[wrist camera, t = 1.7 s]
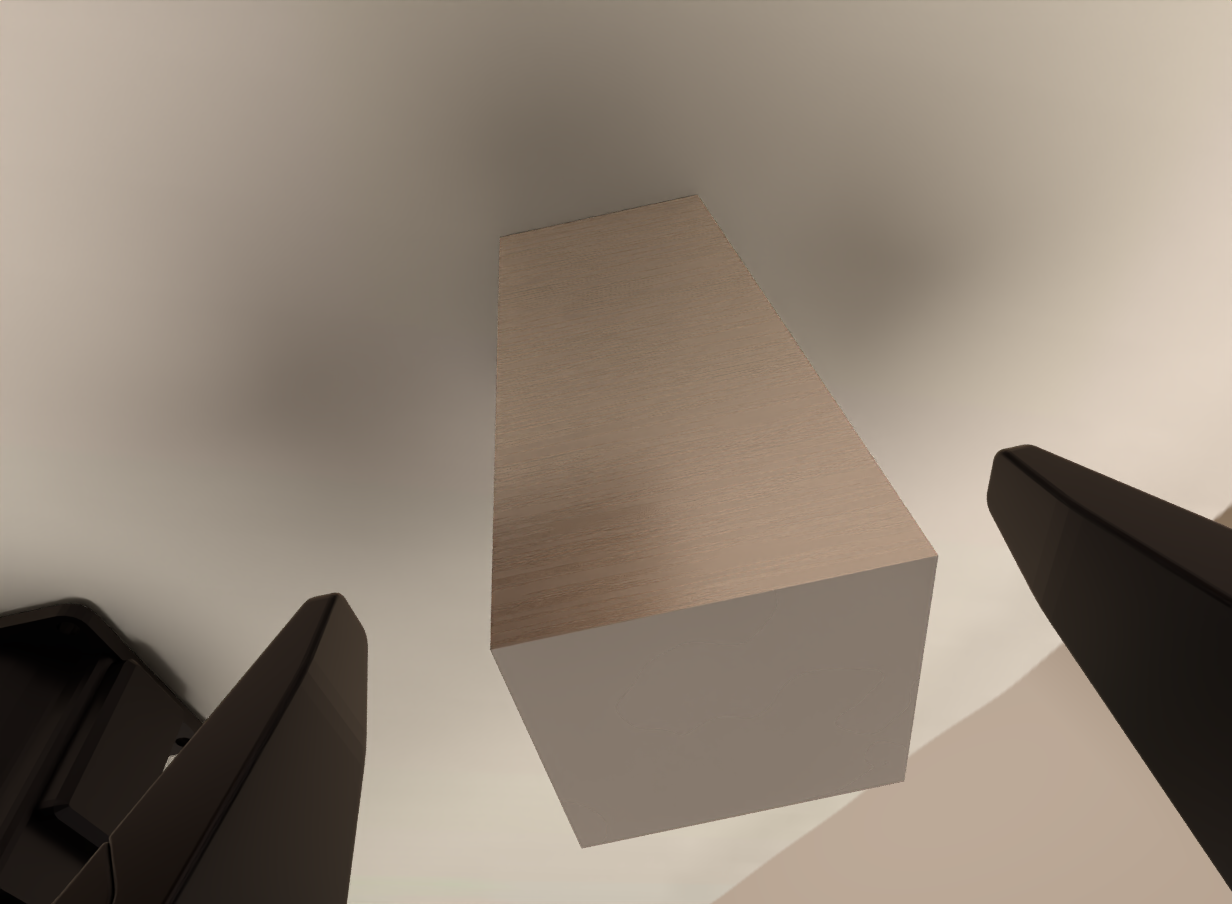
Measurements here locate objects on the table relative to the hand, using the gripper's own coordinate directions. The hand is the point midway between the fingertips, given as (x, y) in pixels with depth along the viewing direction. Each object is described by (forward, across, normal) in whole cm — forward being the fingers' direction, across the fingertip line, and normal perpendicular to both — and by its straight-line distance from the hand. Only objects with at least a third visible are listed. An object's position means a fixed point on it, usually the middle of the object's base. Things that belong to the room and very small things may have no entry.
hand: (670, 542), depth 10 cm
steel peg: (+7, 0, 0) cm, 7 cm away
